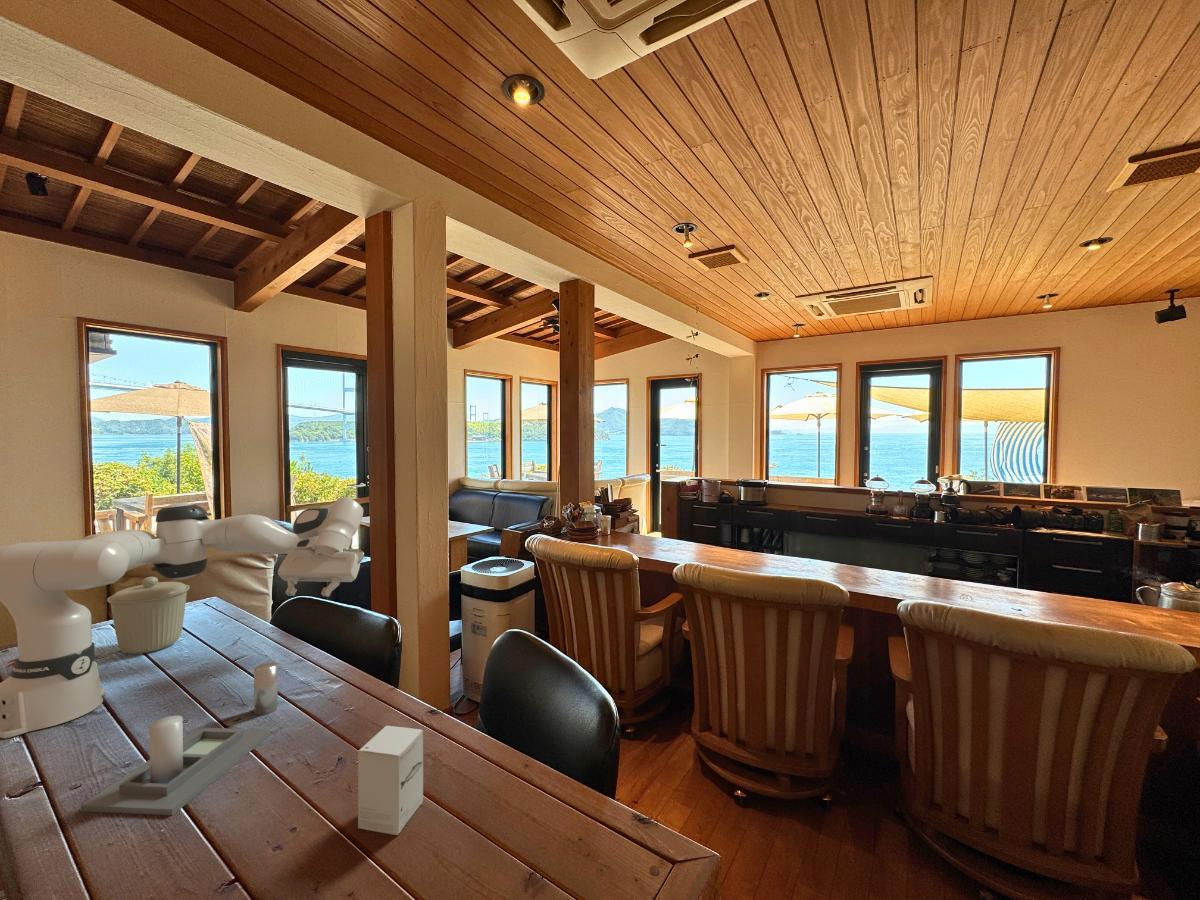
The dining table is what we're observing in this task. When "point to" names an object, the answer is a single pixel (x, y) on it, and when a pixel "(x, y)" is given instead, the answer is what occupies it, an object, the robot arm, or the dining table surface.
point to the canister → (148, 615)
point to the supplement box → (390, 779)
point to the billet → (265, 688)
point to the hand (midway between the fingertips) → (307, 595)
